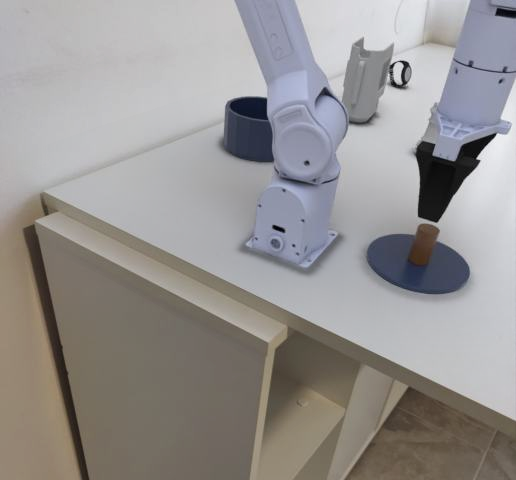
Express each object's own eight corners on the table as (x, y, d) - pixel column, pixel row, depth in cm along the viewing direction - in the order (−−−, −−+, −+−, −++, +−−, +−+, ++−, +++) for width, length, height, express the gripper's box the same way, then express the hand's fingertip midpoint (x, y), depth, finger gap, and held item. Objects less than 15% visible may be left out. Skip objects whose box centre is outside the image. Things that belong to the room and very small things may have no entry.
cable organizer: (381, 109, 103) (397, 40, 95) (364, 128, 95) (381, 53, 87) (348, 102, 105) (361, 33, 97) (329, 120, 96) (342, 46, 88)
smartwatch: (397, 90, 114) (403, 64, 111) (382, 82, 118) (388, 57, 114) (412, 89, 116) (418, 64, 113) (397, 81, 119) (403, 57, 116)
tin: (272, 167, 79) (277, 127, 75) (210, 148, 82) (212, 108, 78) (303, 146, 86) (309, 108, 82) (245, 128, 89) (248, 91, 85)
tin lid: (453, 311, 56) (471, 270, 52) (350, 274, 59) (360, 233, 56) (475, 262, 64) (492, 224, 60) (383, 231, 67) (394, 194, 64)
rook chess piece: (441, 162, 86) (458, 111, 81) (413, 158, 86) (428, 106, 81) (439, 152, 89) (455, 102, 84) (413, 148, 90) (427, 98, 84)
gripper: (520, 92, 41) (460, 246, 50) (541, 57, 51) (488, 191, 60) (431, 72, 43) (388, 222, 52) (468, 42, 53) (427, 173, 62)
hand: (437, 204), depth 56 cm, fingers open, 7 cm apart
